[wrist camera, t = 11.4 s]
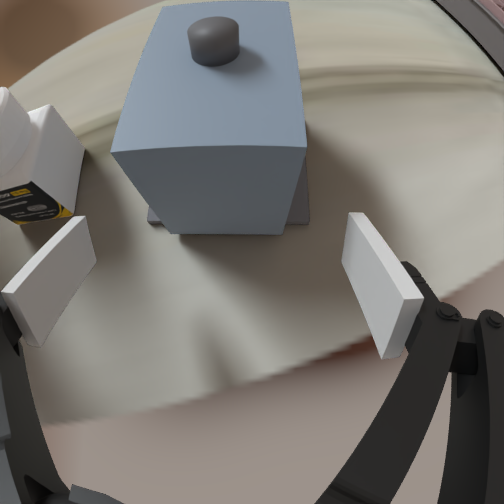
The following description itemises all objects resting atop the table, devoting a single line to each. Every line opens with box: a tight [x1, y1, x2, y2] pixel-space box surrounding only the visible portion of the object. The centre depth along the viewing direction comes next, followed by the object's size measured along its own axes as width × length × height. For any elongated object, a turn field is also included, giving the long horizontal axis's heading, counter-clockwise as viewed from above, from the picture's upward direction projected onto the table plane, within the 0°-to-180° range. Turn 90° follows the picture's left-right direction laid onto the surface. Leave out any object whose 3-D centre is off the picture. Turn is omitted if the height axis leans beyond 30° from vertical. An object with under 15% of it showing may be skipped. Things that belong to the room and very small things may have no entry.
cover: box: [110, 1, 307, 235], centre depth 18 cm, size 8×12×13 cm, turn 179°
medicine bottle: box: [0, 87, 85, 225], centre depth 18 cm, size 7×7×12 cm
